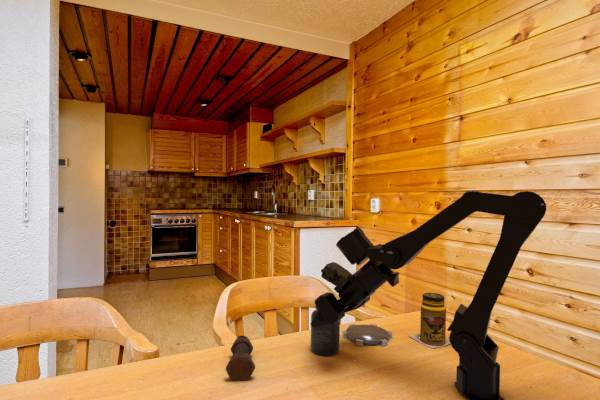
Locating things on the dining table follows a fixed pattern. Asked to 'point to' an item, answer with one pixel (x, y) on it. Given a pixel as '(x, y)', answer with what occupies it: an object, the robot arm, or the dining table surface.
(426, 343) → the condiment
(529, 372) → the dining table surface
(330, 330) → the supplement bottle
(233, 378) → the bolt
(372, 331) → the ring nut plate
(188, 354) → the dining table surface
